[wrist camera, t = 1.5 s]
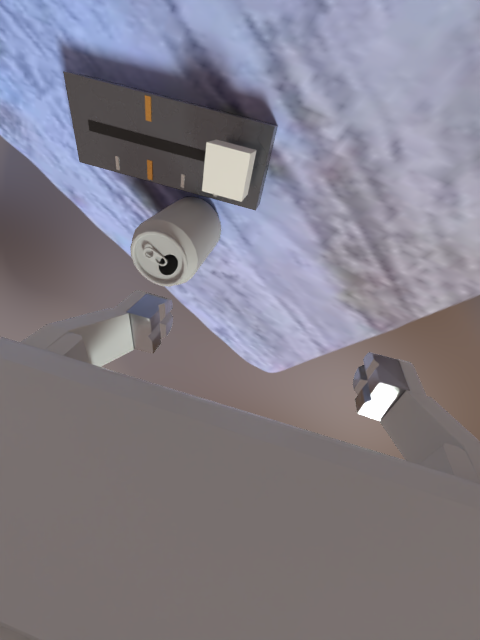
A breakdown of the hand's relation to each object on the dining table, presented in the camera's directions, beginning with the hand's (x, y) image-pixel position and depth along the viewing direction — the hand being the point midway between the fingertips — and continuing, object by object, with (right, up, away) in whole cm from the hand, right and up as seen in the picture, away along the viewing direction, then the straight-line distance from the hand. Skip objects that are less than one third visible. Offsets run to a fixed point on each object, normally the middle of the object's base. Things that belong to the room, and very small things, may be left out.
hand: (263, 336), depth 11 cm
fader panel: (-8, +21, +20) cm, 30 cm away
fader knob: (-1, +17, +17) cm, 24 cm away
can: (-7, +14, +25) cm, 30 cm away
